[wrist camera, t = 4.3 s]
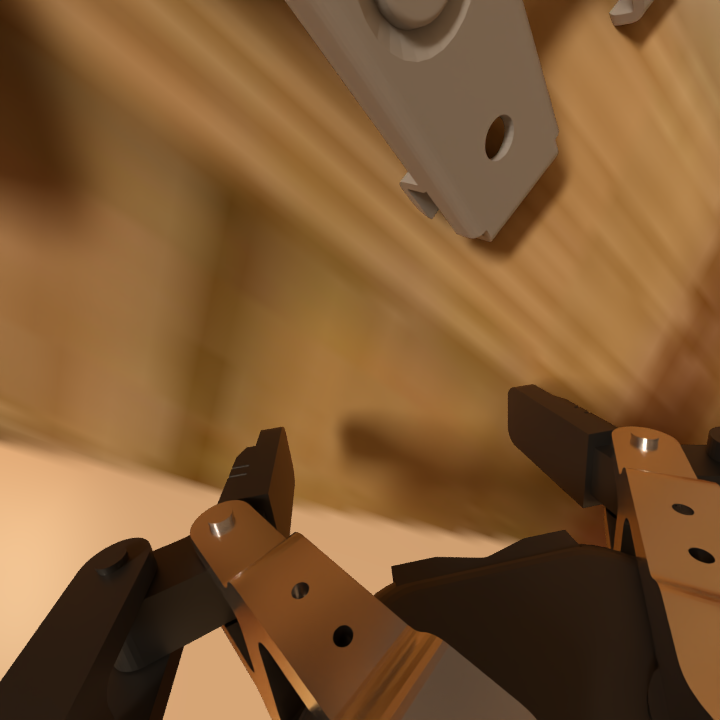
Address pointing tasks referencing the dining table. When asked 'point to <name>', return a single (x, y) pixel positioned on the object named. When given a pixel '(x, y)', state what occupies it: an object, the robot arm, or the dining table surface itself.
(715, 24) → the dining table surface
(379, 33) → the bracket
